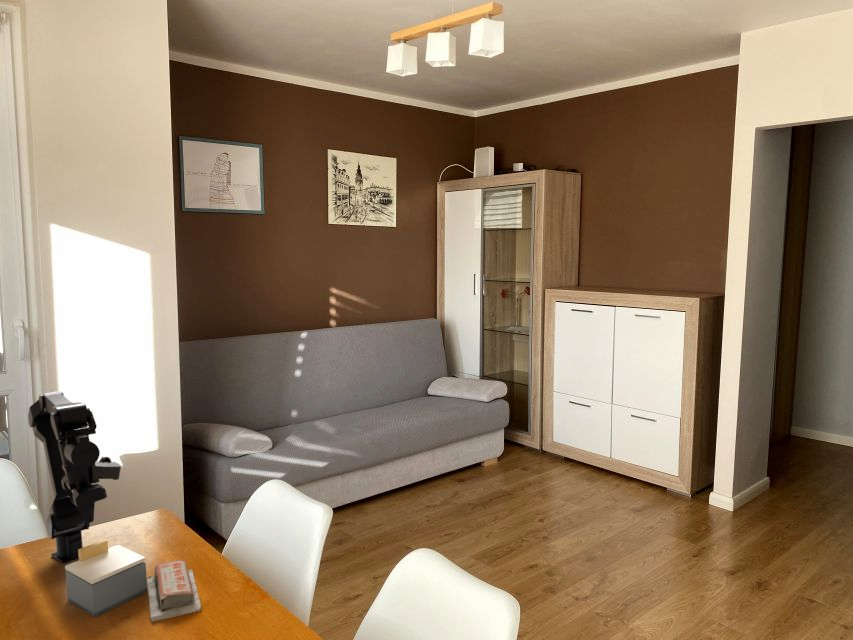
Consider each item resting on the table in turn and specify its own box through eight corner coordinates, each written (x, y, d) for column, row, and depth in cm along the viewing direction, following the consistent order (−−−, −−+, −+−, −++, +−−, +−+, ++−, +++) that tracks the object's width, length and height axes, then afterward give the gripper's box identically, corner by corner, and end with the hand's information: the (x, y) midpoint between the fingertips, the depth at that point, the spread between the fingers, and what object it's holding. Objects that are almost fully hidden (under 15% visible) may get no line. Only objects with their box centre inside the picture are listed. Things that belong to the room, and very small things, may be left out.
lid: (65, 569, 142) (64, 554, 142) (118, 547, 152) (117, 534, 152) (91, 584, 136) (90, 569, 136) (145, 560, 146) (144, 546, 145)
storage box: (67, 601, 143) (65, 570, 142) (120, 577, 153) (118, 549, 152) (94, 617, 137) (92, 585, 136) (147, 591, 147) (145, 562, 146)
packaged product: (145, 563, 151) (191, 554, 155) (146, 583, 151) (192, 573, 155) (149, 602, 134) (200, 591, 139) (150, 624, 135) (201, 612, 139)
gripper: (123, 455, 149) (137, 519, 151) (104, 440, 163) (117, 499, 166) (69, 472, 142) (84, 539, 144) (54, 454, 157) (68, 515, 159)
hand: (90, 521), depth 154 cm, fingers closed
